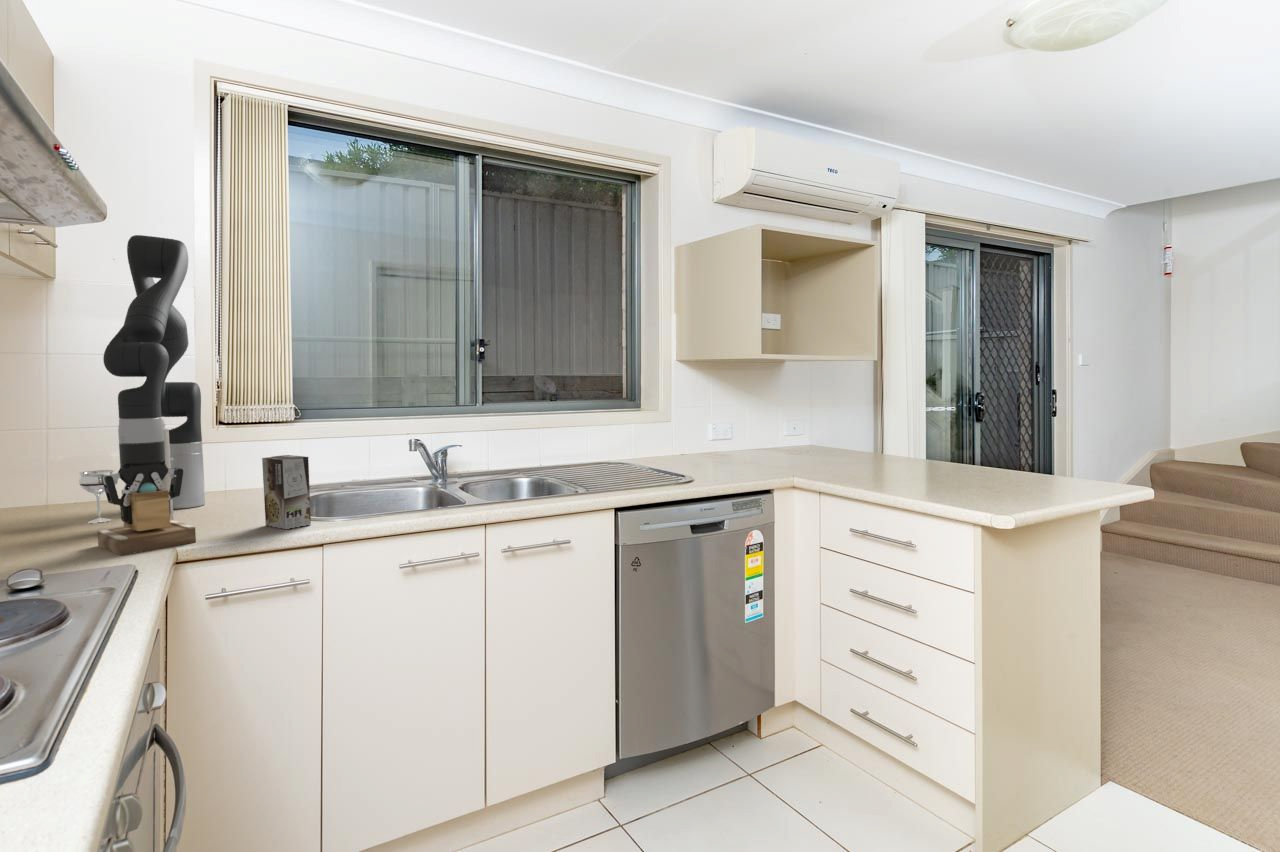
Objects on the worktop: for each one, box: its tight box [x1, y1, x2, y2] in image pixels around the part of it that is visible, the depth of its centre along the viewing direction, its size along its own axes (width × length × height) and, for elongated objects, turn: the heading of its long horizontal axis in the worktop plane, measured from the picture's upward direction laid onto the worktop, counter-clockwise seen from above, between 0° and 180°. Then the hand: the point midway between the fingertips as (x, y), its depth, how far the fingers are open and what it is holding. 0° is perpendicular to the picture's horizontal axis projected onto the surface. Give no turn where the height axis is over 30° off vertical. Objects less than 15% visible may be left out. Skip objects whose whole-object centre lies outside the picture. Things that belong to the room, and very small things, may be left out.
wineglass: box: [78, 469, 115, 524], centre depth 163 cm, size 7×7×12 cm
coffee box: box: [261, 454, 312, 530], centre depth 157 cm, size 9×6×16 cm
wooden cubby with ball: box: [121, 489, 170, 531], centre depth 140 cm, size 8×6×8 cm
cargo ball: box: [138, 483, 157, 493], centre depth 139 cm, size 3×3×3 cm
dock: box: [96, 519, 197, 556], centre depth 140 cm, size 13×13×3 cm
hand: (146, 520), depth 140 cm, fingers closed on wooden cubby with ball, 5 cm apart
